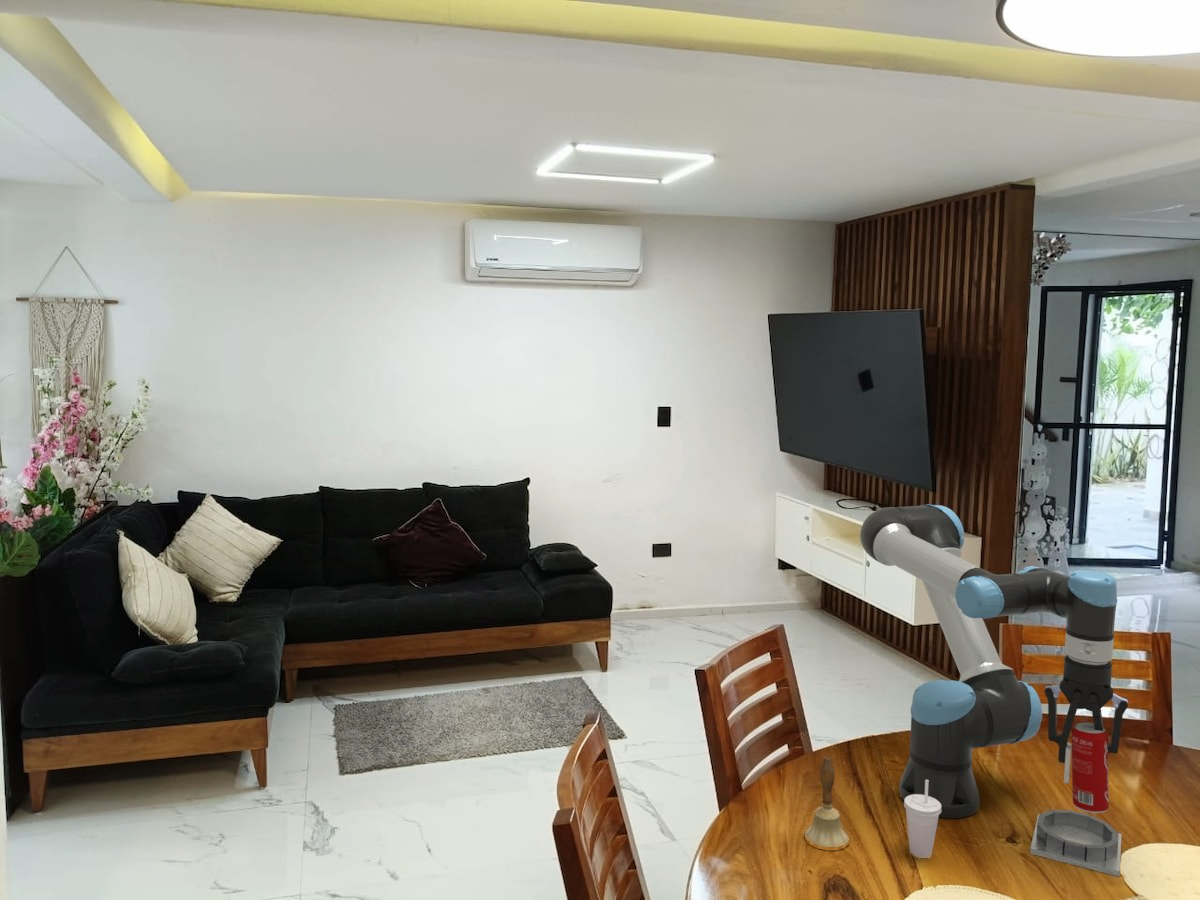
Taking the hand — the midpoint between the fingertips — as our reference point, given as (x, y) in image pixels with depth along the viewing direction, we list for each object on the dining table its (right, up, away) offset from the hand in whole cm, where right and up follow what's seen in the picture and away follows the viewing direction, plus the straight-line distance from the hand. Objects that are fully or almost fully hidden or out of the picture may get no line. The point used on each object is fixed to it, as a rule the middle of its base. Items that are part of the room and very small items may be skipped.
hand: (1080, 782), depth 164 cm
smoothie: (-29, -13, -1) cm, 32 cm away
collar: (0, -12, +1) cm, 12 cm away
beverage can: (+1, -4, -1) cm, 4 cm away
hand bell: (-45, -12, +4) cm, 47 cm away
